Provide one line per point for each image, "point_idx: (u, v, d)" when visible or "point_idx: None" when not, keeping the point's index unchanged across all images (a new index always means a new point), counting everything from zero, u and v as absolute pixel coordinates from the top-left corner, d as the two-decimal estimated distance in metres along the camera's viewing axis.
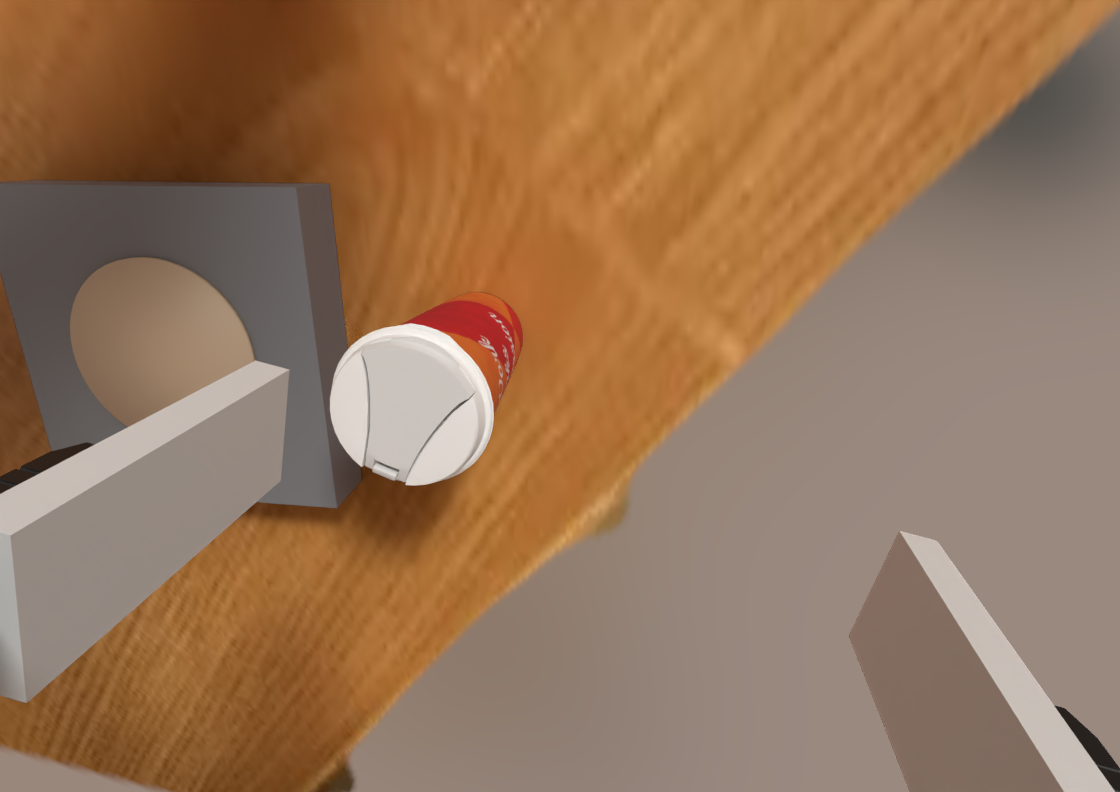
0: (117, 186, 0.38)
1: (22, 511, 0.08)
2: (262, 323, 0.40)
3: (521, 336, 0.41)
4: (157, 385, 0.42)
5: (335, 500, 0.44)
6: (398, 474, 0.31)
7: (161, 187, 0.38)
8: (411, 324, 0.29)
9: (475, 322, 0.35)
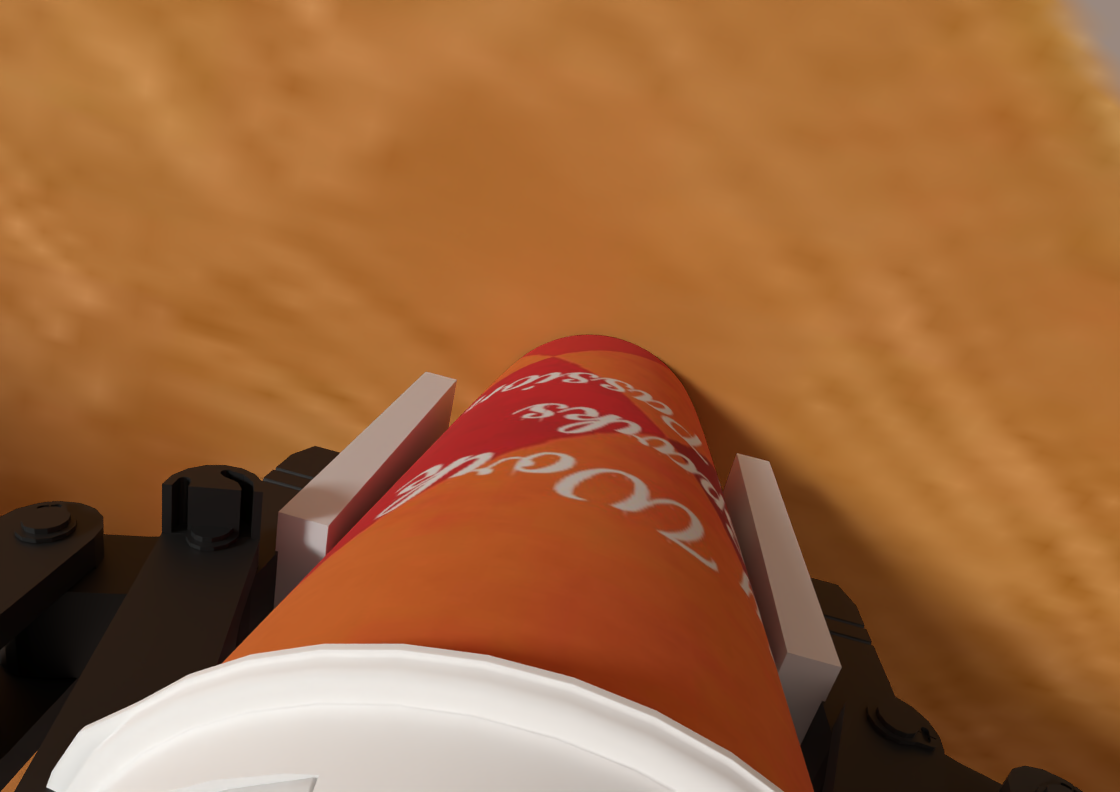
0: None
1: (324, 505, 0.10)
2: None
3: (604, 341, 0.16)
4: None
5: None
6: None
7: None
8: None
9: (399, 479, 0.10)
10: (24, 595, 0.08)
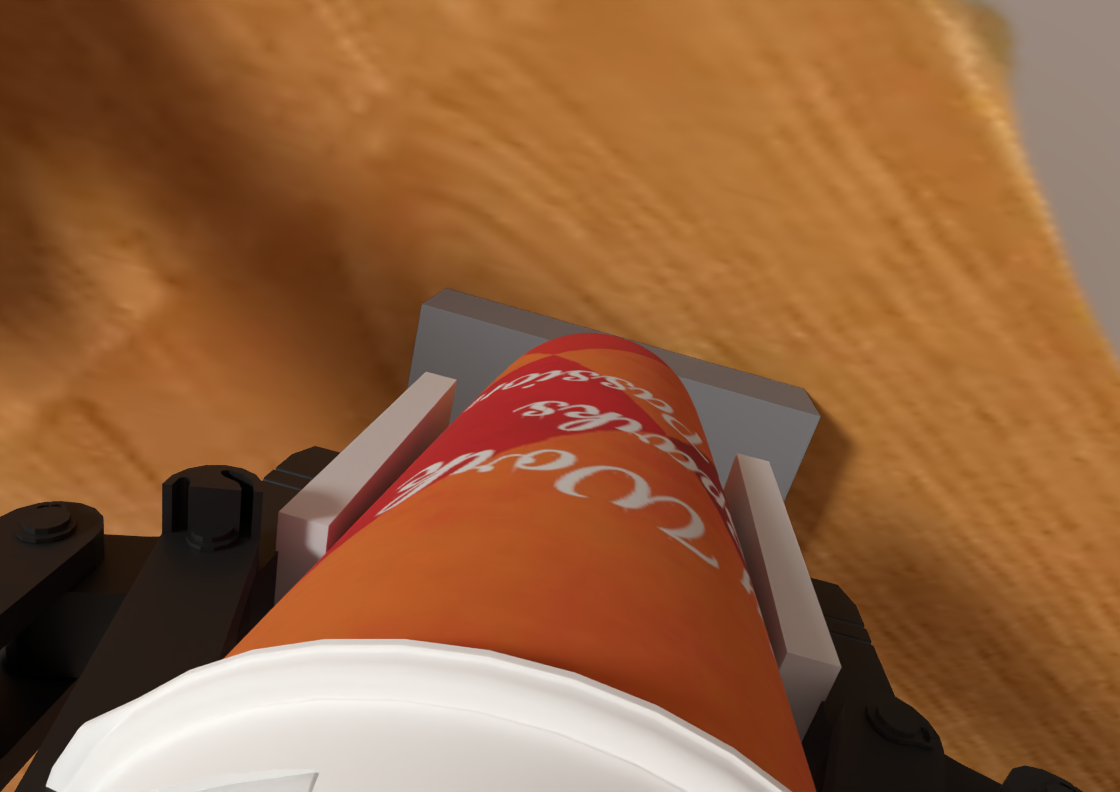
0: None
1: (324, 505, 0.10)
2: None
3: (604, 339, 0.16)
4: None
5: (808, 414, 0.32)
6: None
7: None
8: None
9: None
10: (24, 595, 0.08)
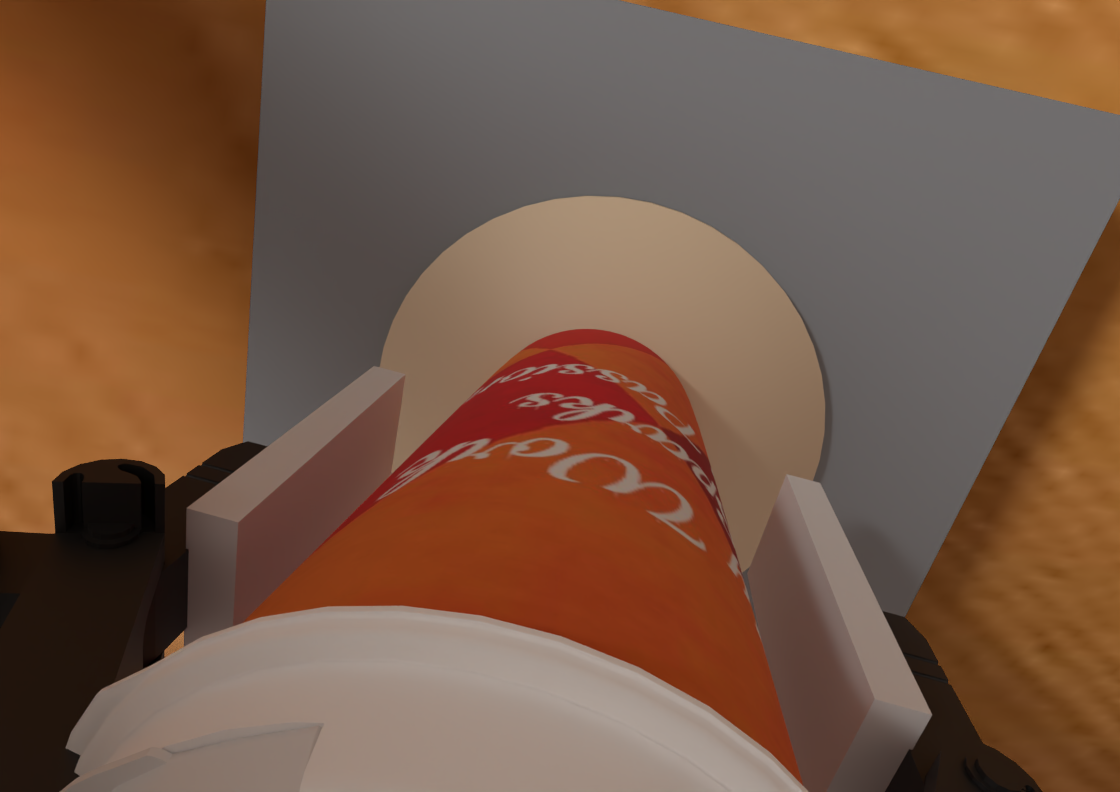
0: (249, 359, 0.19)
1: (238, 501, 0.10)
2: (567, 147, 0.16)
3: (600, 334, 0.16)
4: None
5: None
6: None
7: (255, 267, 0.18)
8: None
9: (399, 466, 0.11)
10: None
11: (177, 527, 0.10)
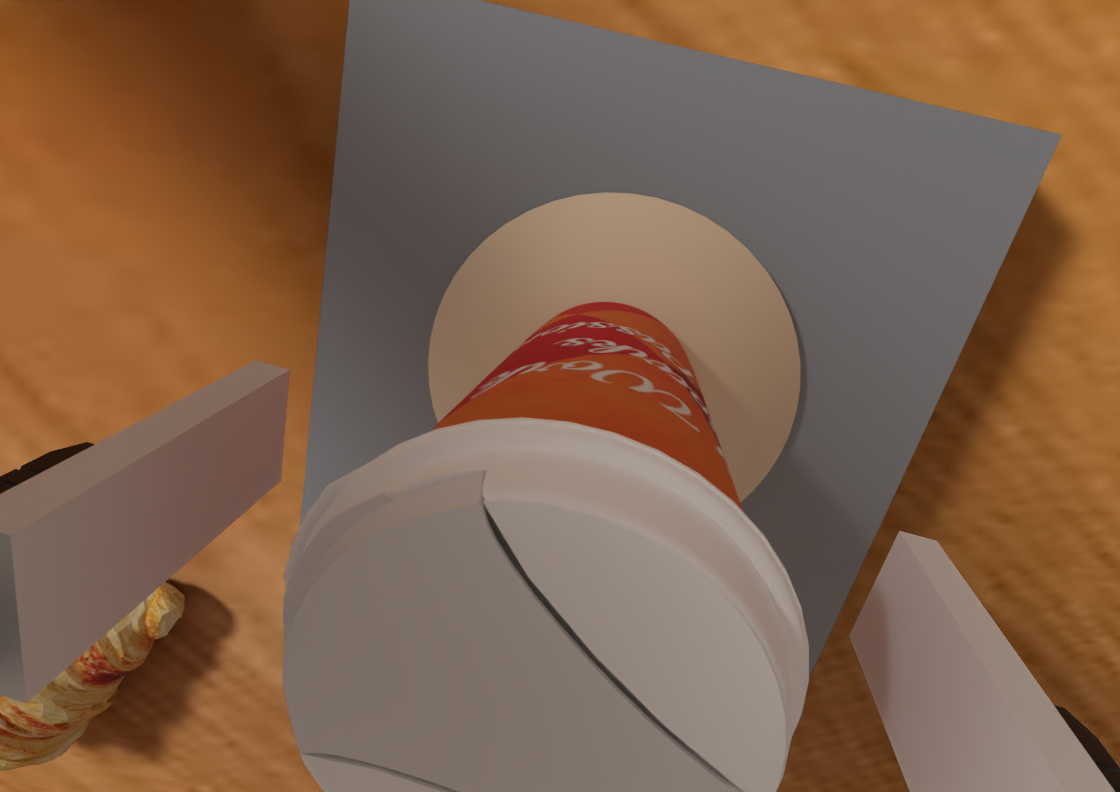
0: (320, 329, 0.23)
1: (22, 511, 0.08)
2: (590, 152, 0.20)
3: (616, 305, 0.20)
4: None
5: (1039, 131, 0.18)
6: None
7: (328, 251, 0.22)
8: (288, 573, 0.10)
9: (473, 389, 0.14)
10: None
11: None
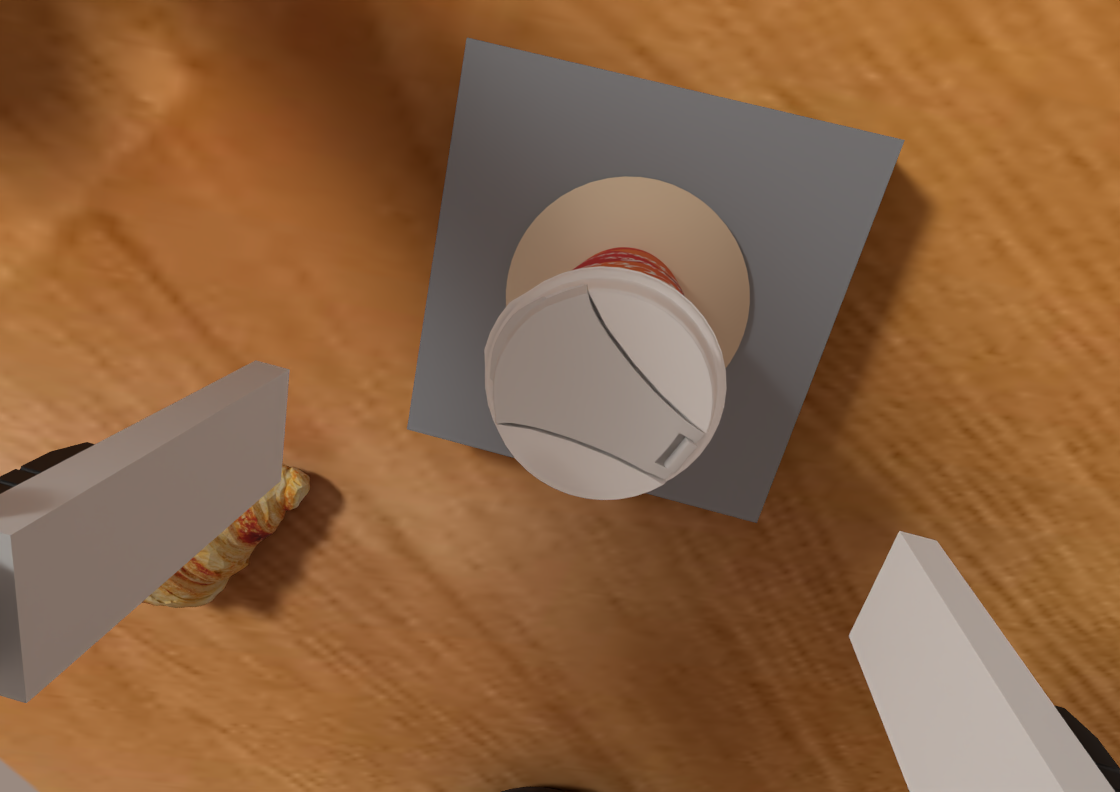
0: (432, 269, 0.34)
1: (22, 511, 0.08)
2: (614, 151, 0.31)
3: (631, 248, 0.31)
4: None
5: (891, 138, 0.30)
6: (688, 437, 0.20)
7: (441, 216, 0.33)
8: (485, 348, 0.22)
9: None
10: None
11: None
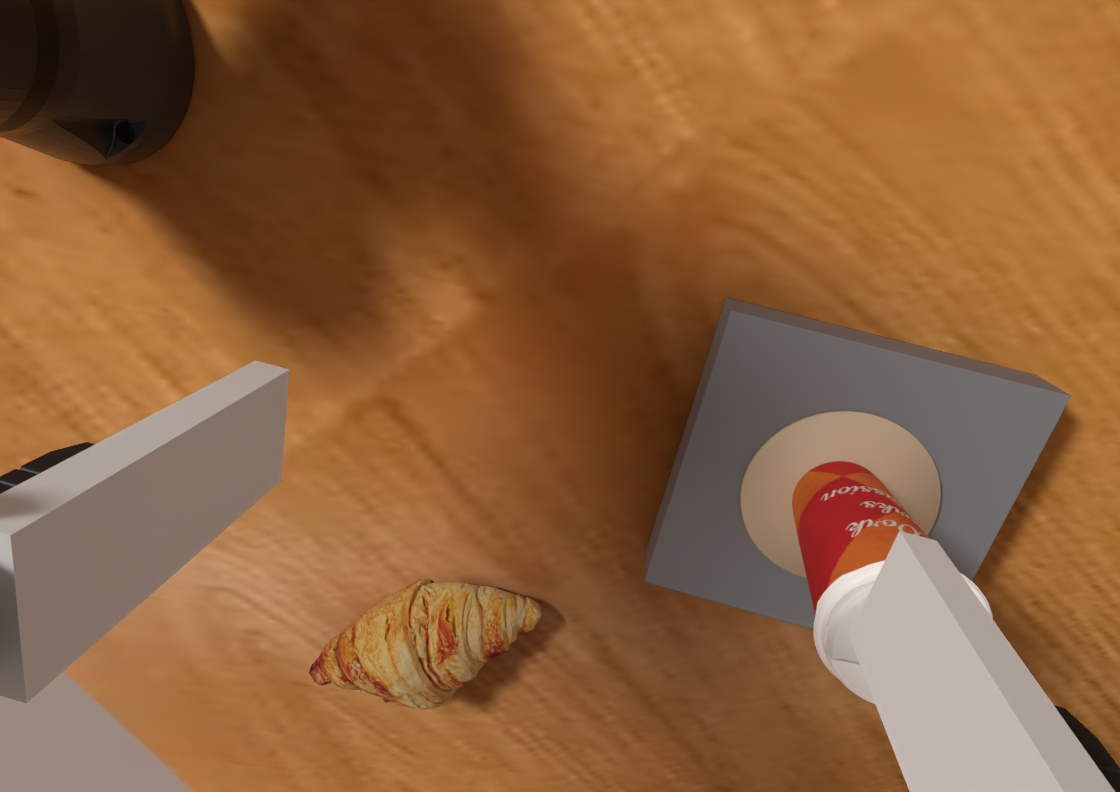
0: (681, 468, 0.44)
1: (22, 511, 0.08)
2: (840, 392, 0.41)
3: (853, 466, 0.41)
4: None
5: (1060, 394, 0.39)
6: None
7: (694, 431, 0.43)
8: (818, 602, 0.31)
9: (830, 525, 0.35)
10: None
11: None
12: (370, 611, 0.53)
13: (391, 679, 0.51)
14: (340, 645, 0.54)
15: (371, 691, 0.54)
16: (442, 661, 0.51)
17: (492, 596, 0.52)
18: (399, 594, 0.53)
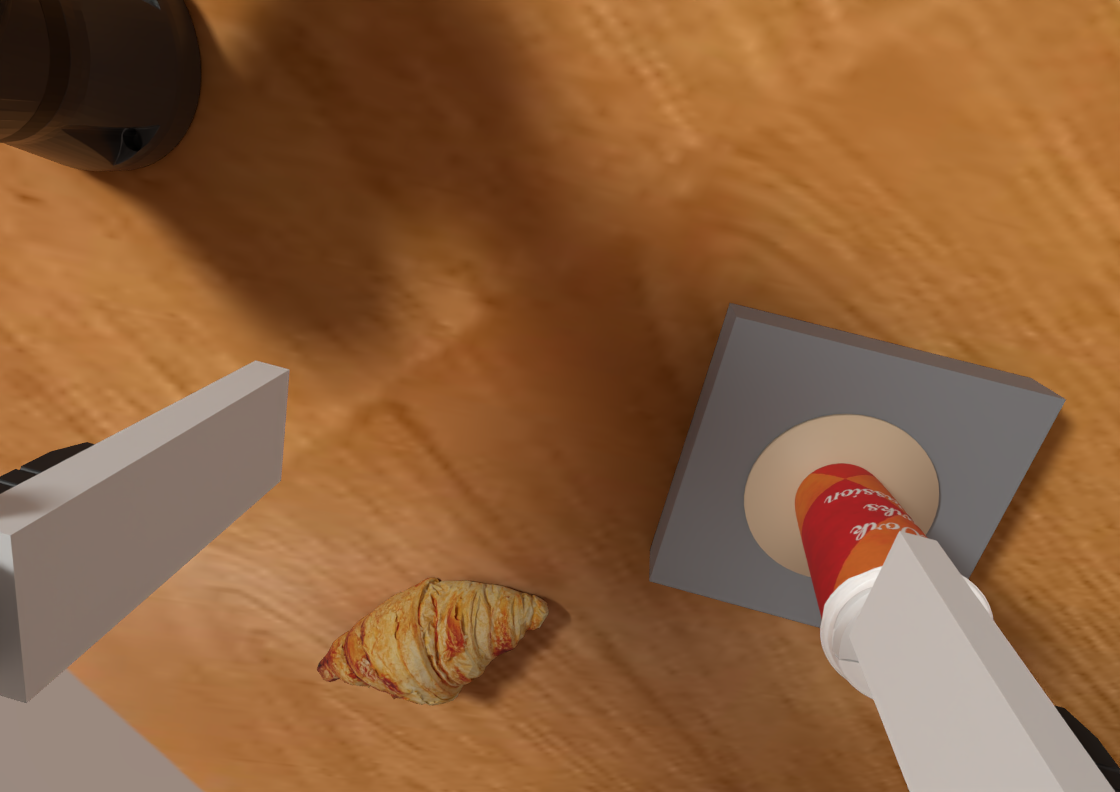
0: (686, 470, 0.45)
1: (22, 511, 0.08)
2: (842, 396, 0.42)
3: (854, 468, 0.42)
4: None
5: (1055, 397, 0.40)
6: None
7: (699, 434, 0.44)
8: (825, 604, 0.32)
9: (834, 527, 0.36)
10: None
11: None
12: (379, 609, 0.54)
13: (401, 676, 0.52)
14: (349, 643, 0.55)
15: (380, 688, 0.54)
16: (451, 659, 0.52)
17: (500, 595, 0.53)
18: (408, 592, 0.54)
